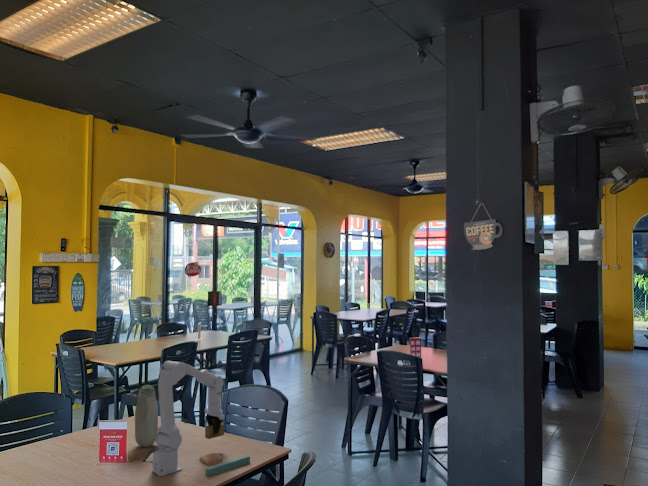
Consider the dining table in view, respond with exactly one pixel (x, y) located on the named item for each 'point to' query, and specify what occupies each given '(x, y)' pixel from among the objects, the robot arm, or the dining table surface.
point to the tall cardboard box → (210, 433)
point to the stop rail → (227, 465)
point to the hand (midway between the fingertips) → (214, 432)
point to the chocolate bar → (151, 454)
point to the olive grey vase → (146, 417)
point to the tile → (210, 458)
